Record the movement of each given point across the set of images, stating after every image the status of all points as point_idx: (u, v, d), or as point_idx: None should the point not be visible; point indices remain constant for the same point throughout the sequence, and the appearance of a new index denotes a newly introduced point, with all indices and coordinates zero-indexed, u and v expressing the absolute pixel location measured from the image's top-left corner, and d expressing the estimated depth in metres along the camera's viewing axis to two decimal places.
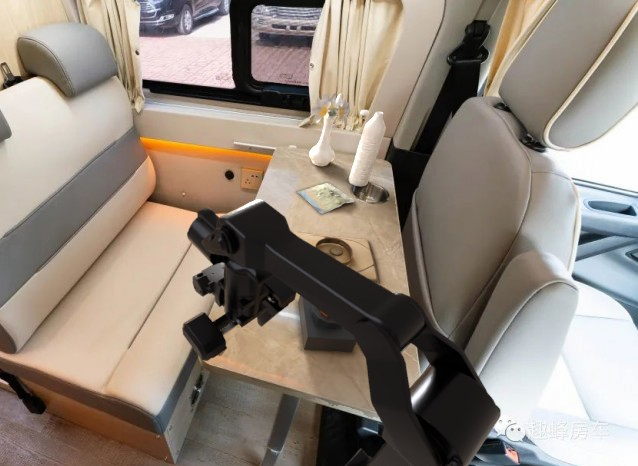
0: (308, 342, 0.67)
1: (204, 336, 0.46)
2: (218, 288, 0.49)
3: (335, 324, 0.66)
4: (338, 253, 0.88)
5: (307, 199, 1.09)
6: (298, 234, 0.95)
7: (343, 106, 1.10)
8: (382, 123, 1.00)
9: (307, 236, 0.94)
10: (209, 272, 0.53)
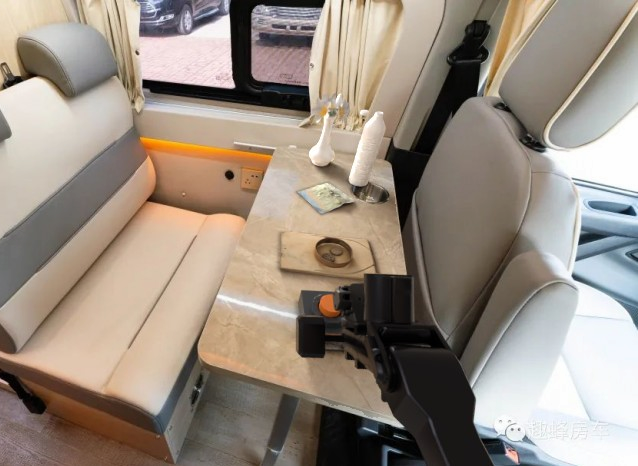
0: None
1: (309, 345, 0.49)
2: (351, 324, 0.47)
3: (335, 324, 0.66)
4: (338, 253, 0.88)
5: (307, 199, 1.09)
6: (298, 234, 0.95)
7: (343, 106, 1.10)
8: (382, 123, 1.00)
9: (307, 236, 0.94)
10: (357, 293, 0.48)
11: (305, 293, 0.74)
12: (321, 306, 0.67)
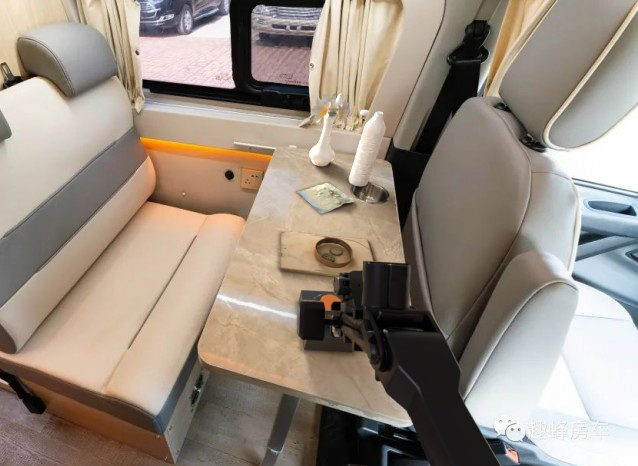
0: (308, 342, 0.67)
1: (310, 328, 0.52)
2: (350, 309, 0.49)
3: None
4: (338, 253, 0.88)
5: (307, 199, 1.09)
6: (298, 234, 0.95)
7: (343, 106, 1.10)
8: (382, 123, 1.00)
9: (307, 236, 0.94)
10: (357, 280, 0.50)
11: (305, 293, 0.74)
12: None
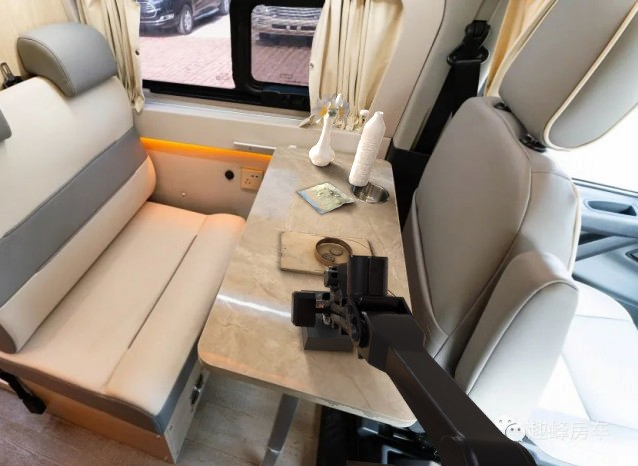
0: (308, 342, 0.67)
1: (302, 316, 0.58)
2: (337, 298, 0.55)
3: None
4: (338, 253, 0.88)
5: (307, 199, 1.09)
6: (298, 234, 0.95)
7: (343, 106, 1.10)
8: (382, 123, 1.00)
9: (307, 236, 0.94)
10: (344, 273, 0.56)
11: None
12: None
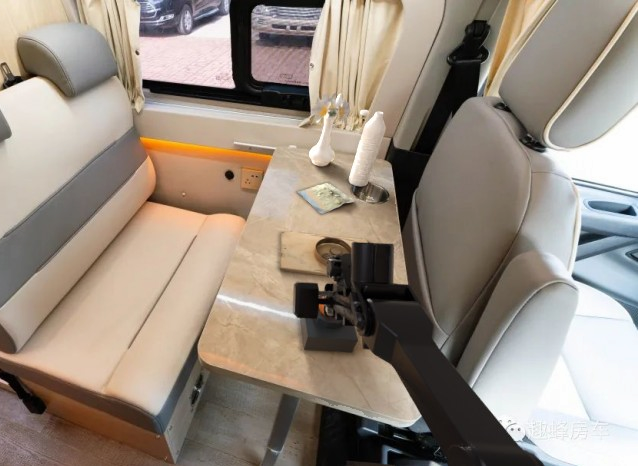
0: (308, 342, 0.67)
1: (304, 307, 0.56)
2: (341, 288, 0.53)
3: (335, 324, 0.66)
4: (338, 253, 0.88)
5: (307, 199, 1.09)
6: (298, 234, 0.95)
7: (343, 106, 1.10)
8: (382, 123, 1.00)
9: (307, 236, 0.94)
10: (348, 262, 0.55)
11: None
12: (321, 306, 0.67)
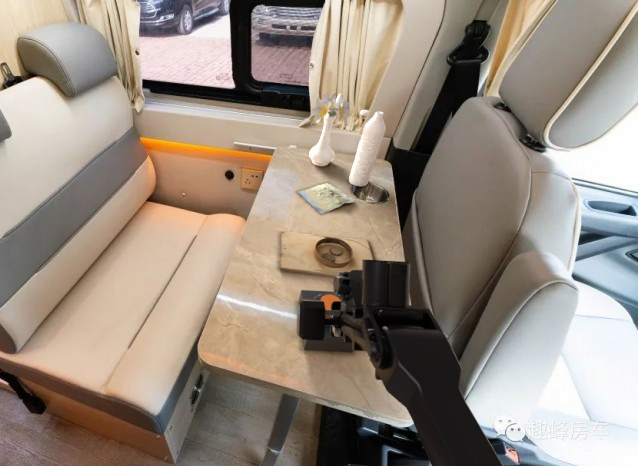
0: (308, 342, 0.67)
1: (310, 328, 0.52)
2: (350, 309, 0.49)
3: None
4: (338, 253, 0.88)
5: (307, 199, 1.09)
6: (298, 234, 0.95)
7: (343, 106, 1.10)
8: (382, 123, 1.00)
9: (307, 236, 0.94)
10: (357, 279, 0.50)
11: (305, 293, 0.74)
12: None
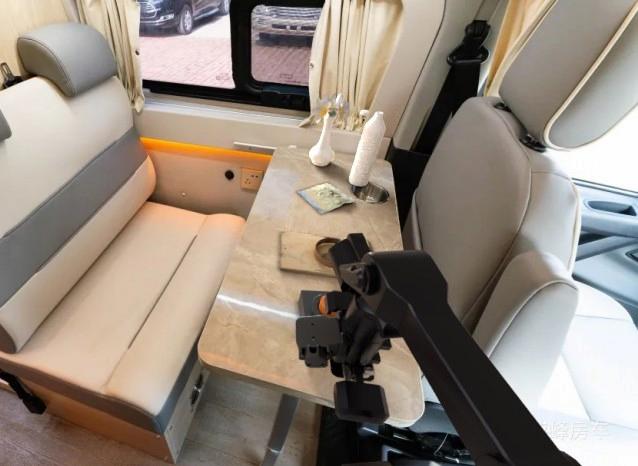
0: None
1: (373, 402, 0.41)
2: (343, 348, 0.43)
3: None
4: None
5: (307, 199, 1.09)
6: (298, 234, 0.95)
7: (343, 106, 1.10)
8: (382, 123, 1.00)
9: (307, 236, 0.94)
10: (307, 339, 0.45)
11: (305, 293, 0.74)
12: (321, 306, 0.67)
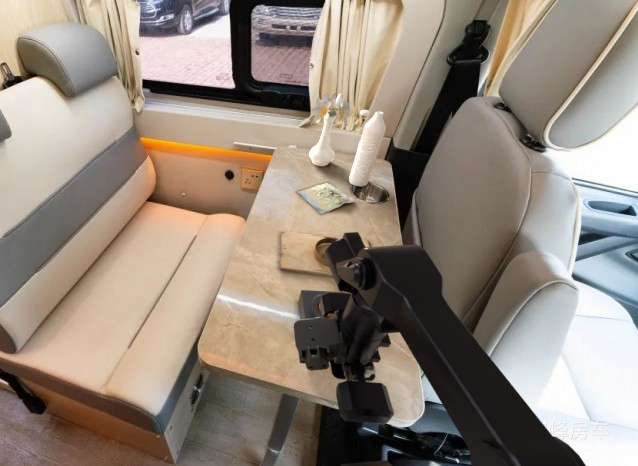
0: None
1: (377, 401, 0.40)
2: (343, 348, 0.43)
3: None
4: None
5: (307, 199, 1.09)
6: (298, 234, 0.95)
7: (343, 106, 1.10)
8: (382, 123, 1.00)
9: (307, 236, 0.94)
10: (307, 341, 0.45)
11: (305, 293, 0.74)
12: None
